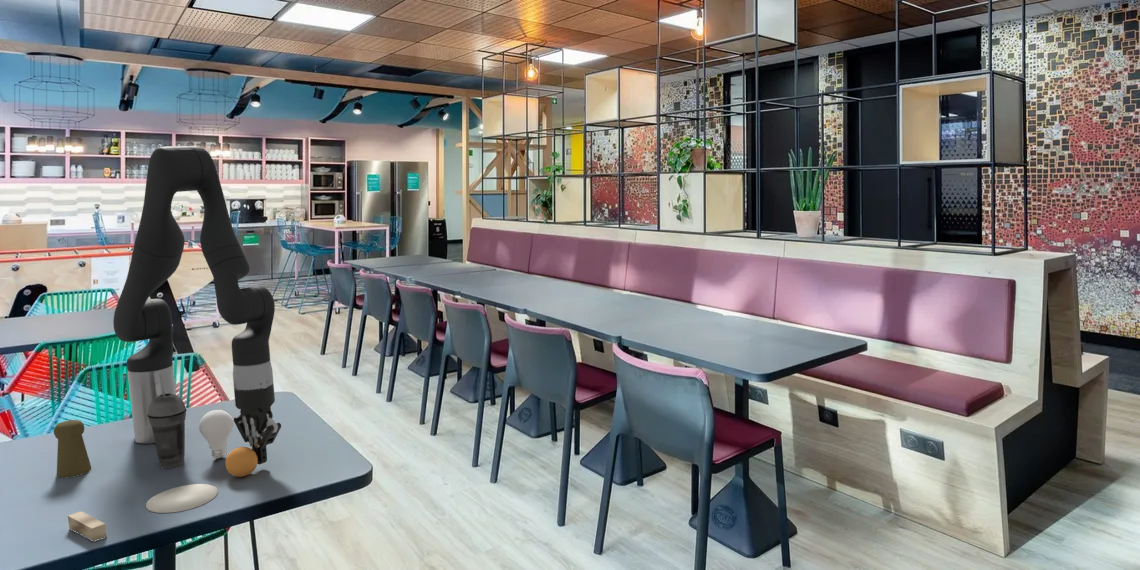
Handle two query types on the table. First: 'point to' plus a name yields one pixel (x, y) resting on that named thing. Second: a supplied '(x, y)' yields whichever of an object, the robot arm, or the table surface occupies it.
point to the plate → (181, 498)
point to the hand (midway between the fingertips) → (260, 462)
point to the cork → (71, 449)
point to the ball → (241, 461)
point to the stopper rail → (87, 525)
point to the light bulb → (216, 431)
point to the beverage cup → (168, 428)
